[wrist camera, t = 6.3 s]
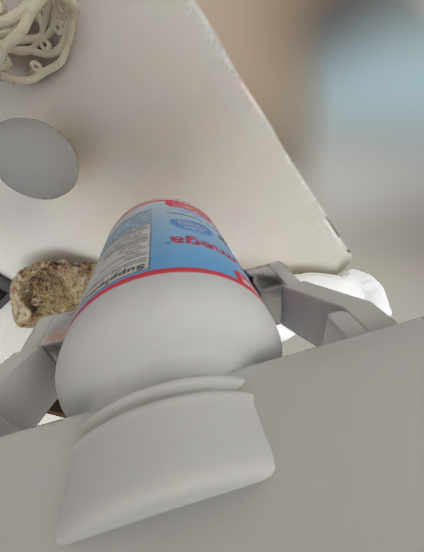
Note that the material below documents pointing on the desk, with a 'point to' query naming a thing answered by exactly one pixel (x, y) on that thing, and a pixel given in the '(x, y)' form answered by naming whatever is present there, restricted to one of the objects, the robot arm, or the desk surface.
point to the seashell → (48, 289)
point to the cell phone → (4, 291)
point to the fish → (345, 290)
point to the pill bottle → (161, 373)
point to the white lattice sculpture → (36, 36)
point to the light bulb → (36, 159)
